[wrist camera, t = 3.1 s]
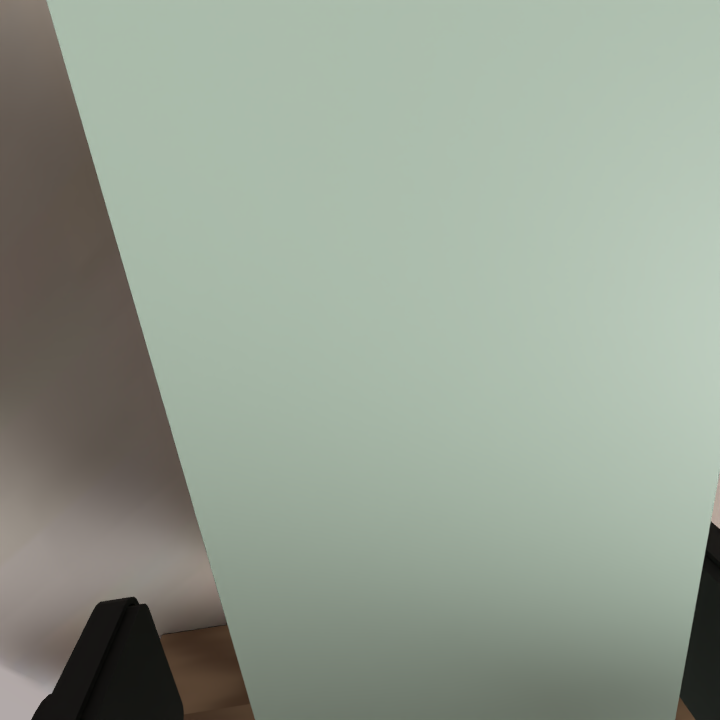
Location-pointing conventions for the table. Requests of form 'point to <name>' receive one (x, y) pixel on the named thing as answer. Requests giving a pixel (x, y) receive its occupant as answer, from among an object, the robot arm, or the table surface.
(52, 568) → the table surface
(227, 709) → the walnut slotted plate
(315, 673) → the sage slotted plate
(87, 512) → the table surface
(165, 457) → the table surface
